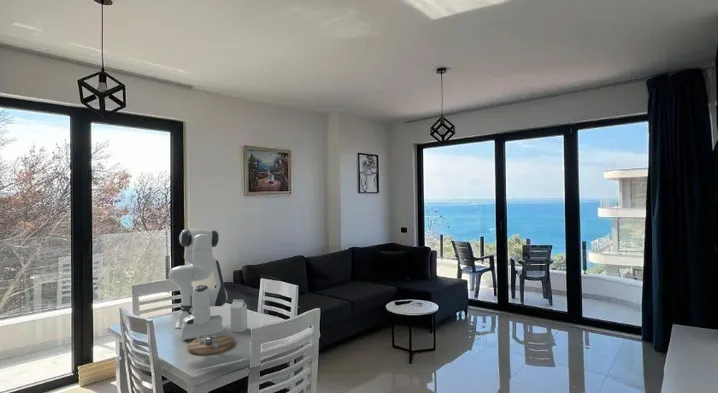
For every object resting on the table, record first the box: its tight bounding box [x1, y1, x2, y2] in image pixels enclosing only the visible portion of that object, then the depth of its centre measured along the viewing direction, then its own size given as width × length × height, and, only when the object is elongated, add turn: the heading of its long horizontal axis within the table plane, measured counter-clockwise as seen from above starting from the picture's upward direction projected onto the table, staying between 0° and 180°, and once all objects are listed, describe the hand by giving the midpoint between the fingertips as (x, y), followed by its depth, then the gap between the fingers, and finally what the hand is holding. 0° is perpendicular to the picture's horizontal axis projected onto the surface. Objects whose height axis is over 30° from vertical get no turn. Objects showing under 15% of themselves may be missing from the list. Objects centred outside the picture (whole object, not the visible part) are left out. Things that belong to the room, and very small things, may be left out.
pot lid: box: [203, 334, 217, 345], centre depth 220 cm, size 7×7×3 cm
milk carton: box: [229, 299, 248, 333], centre depth 247 cm, size 7×7×19 cm
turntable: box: [187, 334, 235, 356], centre depth 220 cm, size 24×24×8 cm
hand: (202, 344), depth 209 cm, fingers closed
